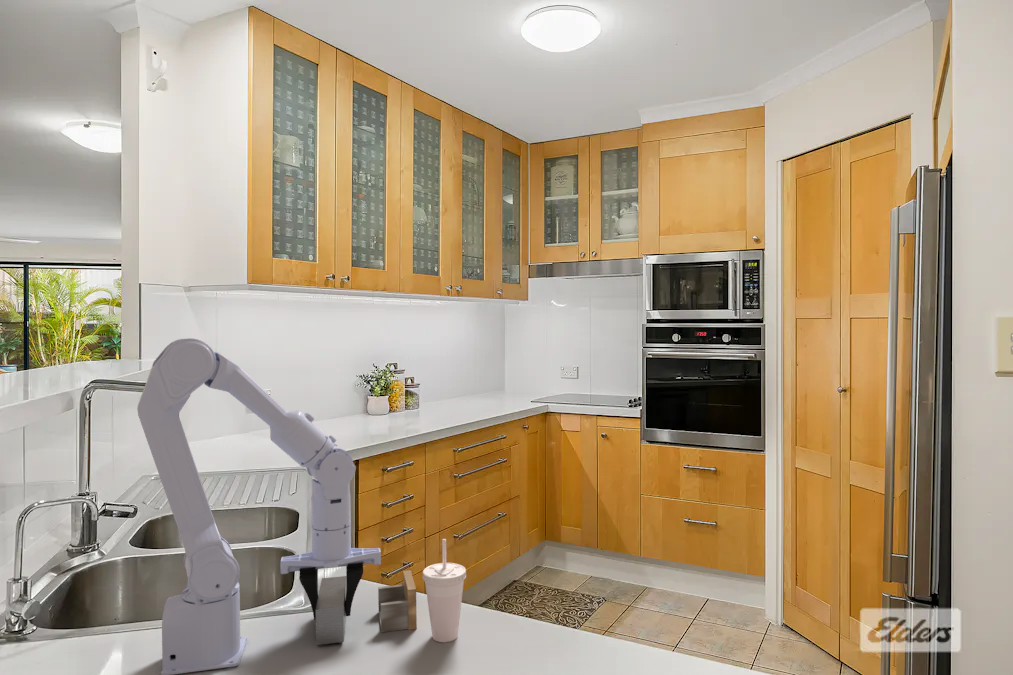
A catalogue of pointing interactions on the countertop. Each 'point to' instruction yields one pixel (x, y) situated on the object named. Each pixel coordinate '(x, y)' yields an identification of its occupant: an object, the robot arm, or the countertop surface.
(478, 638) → the countertop surface
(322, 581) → the grey rectangular block
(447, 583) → the smoothie
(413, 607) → the bracket
